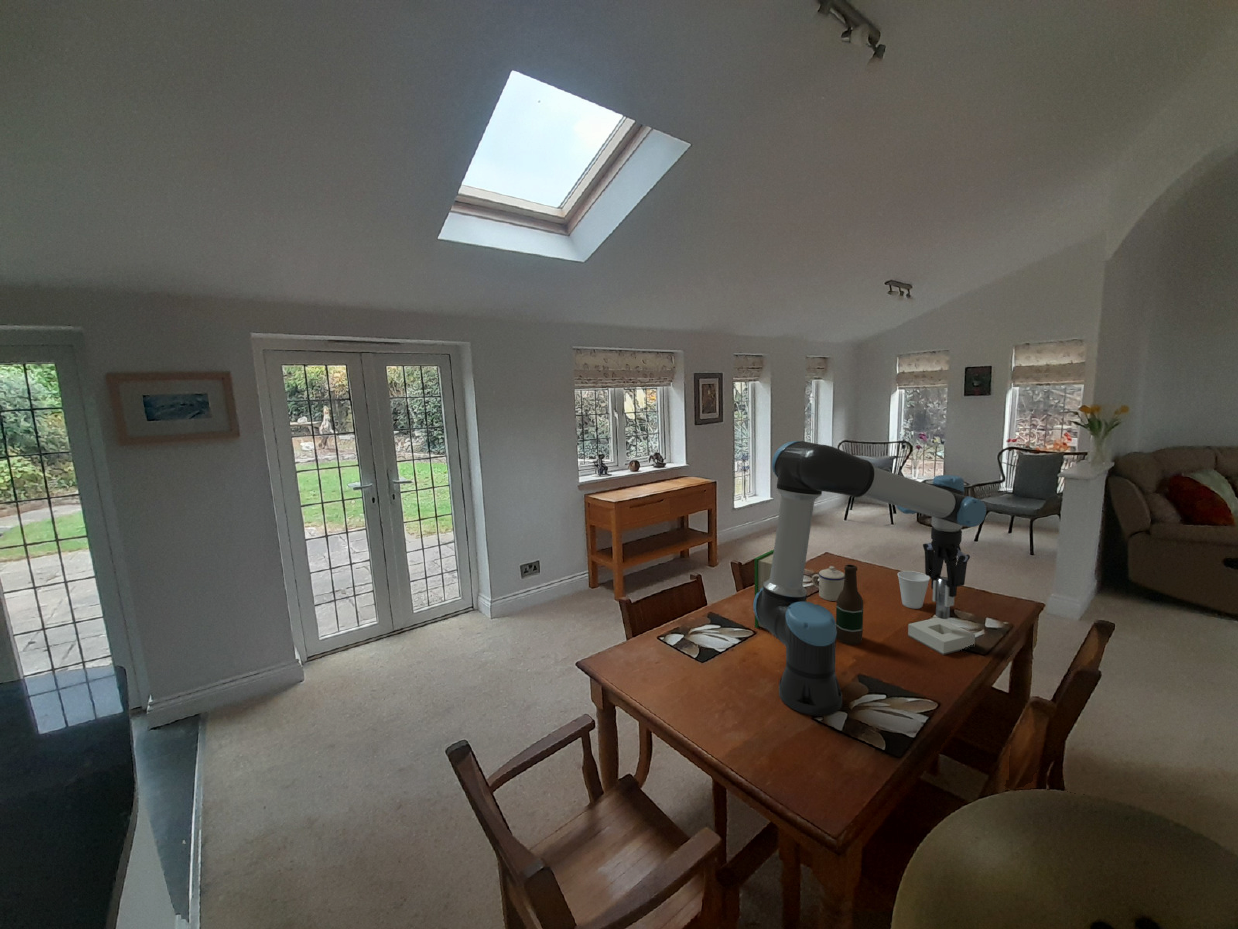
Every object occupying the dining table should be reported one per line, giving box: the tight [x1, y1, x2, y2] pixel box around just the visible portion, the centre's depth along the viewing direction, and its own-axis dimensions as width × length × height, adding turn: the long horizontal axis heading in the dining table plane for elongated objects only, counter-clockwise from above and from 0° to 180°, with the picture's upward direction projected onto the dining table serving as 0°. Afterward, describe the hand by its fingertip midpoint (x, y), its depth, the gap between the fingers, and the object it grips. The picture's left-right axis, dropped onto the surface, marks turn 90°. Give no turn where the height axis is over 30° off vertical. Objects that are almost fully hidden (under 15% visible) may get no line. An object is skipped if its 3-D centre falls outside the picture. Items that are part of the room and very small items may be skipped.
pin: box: [935, 576, 951, 620], centre depth 148 cm, size 3×3×12 cm
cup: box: [897, 570, 931, 610], centre depth 173 cm, size 10×10×11 cm
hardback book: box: [753, 548, 774, 629], centre depth 165 cm, size 18×7×24 cm, turn 133°
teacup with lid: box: [811, 565, 845, 602], centre depth 185 cm, size 12×9×12 cm
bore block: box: [907, 616, 976, 656], centre depth 149 cm, size 12×12×4 cm
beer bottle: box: [835, 563, 864, 646], centre depth 152 cm, size 8×8×24 cm
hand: (943, 603), depth 148 cm, fingers closed on pin, 3 cm apart
